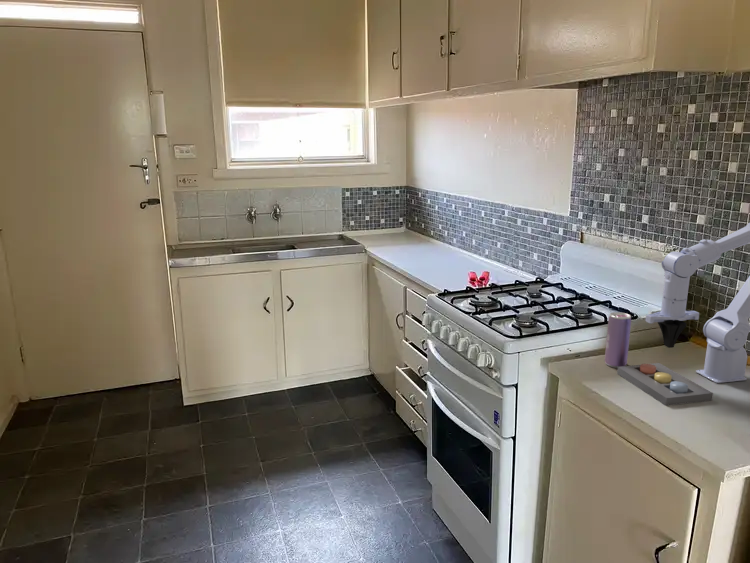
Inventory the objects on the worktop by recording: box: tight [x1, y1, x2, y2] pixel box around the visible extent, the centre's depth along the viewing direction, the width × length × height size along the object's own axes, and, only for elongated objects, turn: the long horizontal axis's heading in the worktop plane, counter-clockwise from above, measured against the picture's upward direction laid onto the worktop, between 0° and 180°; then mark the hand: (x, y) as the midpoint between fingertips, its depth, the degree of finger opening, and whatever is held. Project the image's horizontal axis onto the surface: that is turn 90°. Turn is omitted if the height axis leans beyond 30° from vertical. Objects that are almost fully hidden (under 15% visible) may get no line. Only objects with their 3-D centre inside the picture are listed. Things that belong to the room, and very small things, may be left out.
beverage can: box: [604, 311, 632, 369], centre depth 163 cm, size 6×6×15 cm
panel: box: [616, 362, 714, 406], centre depth 150 cm, size 13×20×2 cm, turn 11°
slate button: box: [670, 381, 688, 394], centre depth 144 cm, size 4×4×2 cm
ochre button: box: [654, 372, 672, 384], centre depth 150 cm, size 4×4×2 cm
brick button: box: [639, 363, 656, 375], centre depth 156 cm, size 4×4×2 cm
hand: (668, 346), depth 153 cm, fingers closed
